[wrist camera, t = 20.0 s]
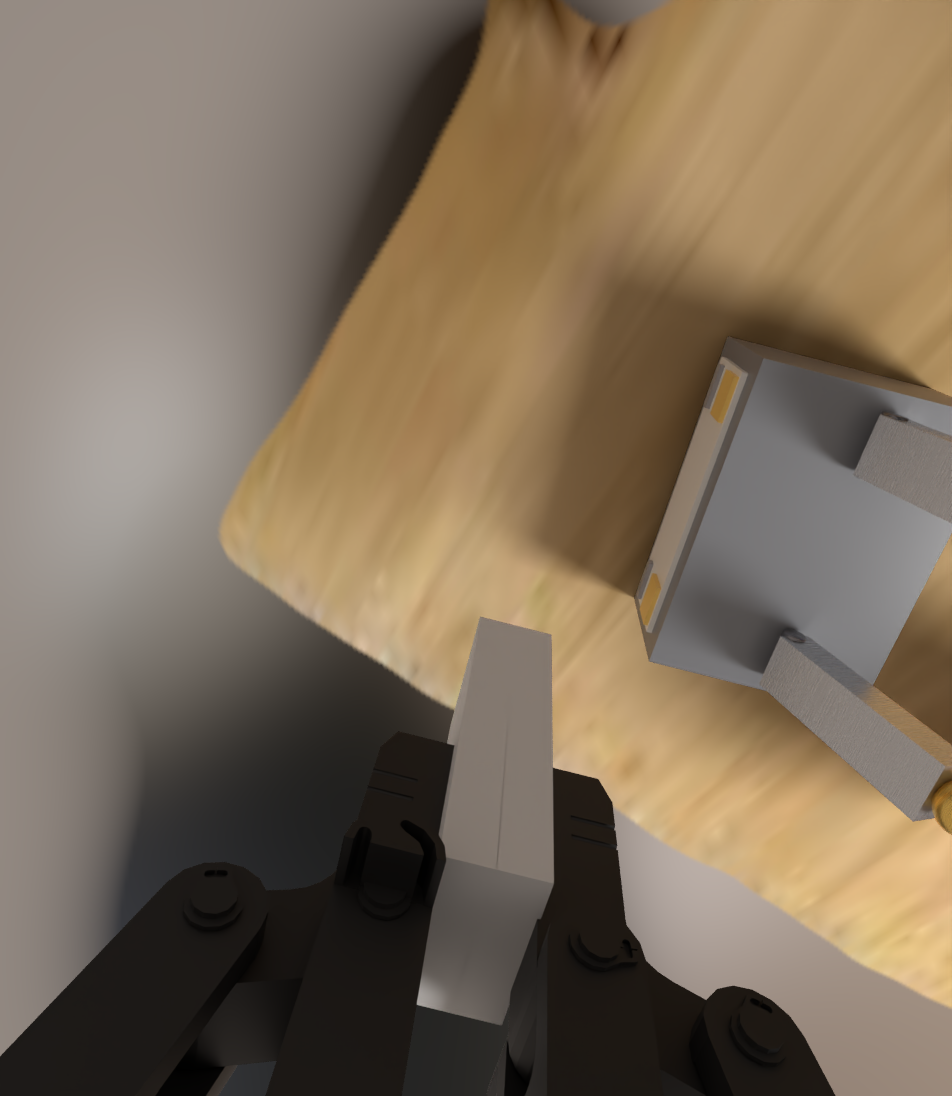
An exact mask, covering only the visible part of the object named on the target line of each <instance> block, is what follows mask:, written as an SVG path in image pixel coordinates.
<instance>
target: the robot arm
mask: <svg viewBox="0 0 952 1096" xmlns="http://www.w3.org/2000/svg"><path fill="white" fill-rule="evenodd" d="M614 828H615V823H614V814H613V805H612V801H611V800H610V798H609V796H608V795H607V793H606V791H605V790H604V788H603V786H602V785H601V783H600V781H599V780H598V779H595V778H591V777H587V776H583V775H579V774H575V773H571V772H567V771H563V770H559V769H555V768H553V741H552V640H551V634H547V633H543V632H539V631H535V630H531V629H527V628H523V627H519V626H515V625H511V624H507V623H503V622H499V621H495V620H491V619H487V618H483V617H480V619H479V623H478V627H477V630H476V634H475V638H474V641H473V645H472V649H471V652H470V656H469V660H468V663H467V667H466V671H465V674H464V678H463V682H462V685H461V689H460V693H459V697H458V700H457V704H456V708H455V711H454V715H453V719H452V722H451V727H450V732H449V737H448V742H447V743H443V742H439V741H435V740H431V739H427V738H423V737H419V736H415V735H411V734H407V733H403V732H399V731H398V732H397V733H396V734H395V735H394V736H392V737H391V738H390V739H389V740H388V741H387V742H386V743H384V744H383V745H382V746H381V747H380V750H379V753H378V757H377V760H376V763H375V766H374V769H373V772H372V775H371V778H370V782H369V785H368V788H367V791H366V794H365V797H364V800H363V803H362V806H361V810H360V813H359V816H358V819H357V820H356V821H355V822H353V823H352V825H351V826H350V828H349V829H348V831H347V832H346V834H345V836H344V839H343V844H342V848H341V853H340V858H339V862H338V866H337V870H336V871H335V872H334V873H333V874H332V875H331V876H329V877H327V878H326V879H324V880H323V881H321V882H319V883H317V884H314V885H311V886H308V887H305V888H298V889H291V890H267V891H266V889H265V887H264V886H263V884H262V882H261V880H260V878H258V877H257V876H255V875H254V874H253V873H251V872H250V871H249V870H247V869H246V868H244V867H241V866H237V865H234V864H230V863H226V862H215V863H202V864H199V865H196V866H193V867H190V868H187V869H184V870H183V871H182V872H180V873H179V874H178V875H176V876H175V877H173V878H172V879H171V880H169V881H168V882H167V883H166V884H165V885H164V886H163V887H162V888H161V889H160V890H159V891H158V892H157V893H156V894H155V895H154V896H153V897H152V898H151V900H149V902H148V903H147V904H146V905H145V906H144V907H143V908H142V909H141V910H140V911H139V912H138V913H137V914H136V915H135V916H134V917H133V918H132V919H131V920H130V921H129V922H128V924H127V925H126V926H125V927H124V928H123V929H122V930H121V931H120V932H119V933H118V934H117V935H116V936H115V937H114V938H113V939H112V940H111V941H110V942H109V943H108V945H106V946H105V948H104V949H103V950H102V951H101V952H100V953H99V954H98V955H97V956H96V957H95V958H94V959H93V960H92V961H91V962H90V963H89V964H88V965H87V966H86V967H85V969H83V971H82V972H81V973H80V974H79V975H78V976H77V977H76V978H75V979H74V980H73V981H72V982H71V983H70V984H69V985H68V986H67V988H65V989H64V990H63V991H62V992H61V993H60V995H59V996H58V997H57V998H56V999H55V1000H54V1001H53V1002H52V1003H51V1004H50V1005H49V1006H48V1007H47V1008H46V1009H45V1010H44V1011H43V1012H42V1013H41V1014H40V1015H39V1016H38V1018H37V1019H36V1020H35V1021H34V1022H33V1023H32V1024H31V1025H30V1026H29V1027H28V1028H27V1029H26V1030H25V1031H24V1032H23V1033H22V1034H21V1035H20V1036H19V1037H18V1038H17V1040H16V1041H15V1042H14V1043H13V1044H12V1045H11V1046H10V1047H9V1048H8V1049H7V1050H6V1051H5V1052H4V1053H3V1054H2V1055H1V1056H0V1096H218V1095H219V1094H220V1092H221V1091H222V1089H223V1087H224V1086H225V1084H226V1083H227V1081H228V1080H229V1078H230V1076H231V1075H232V1073H233V1072H234V1070H235V1069H236V1067H237V1065H240V1064H250V1063H259V1062H269V1061H277V1062H276V1065H275V1068H274V1071H273V1074H272V1077H271V1080H270V1083H269V1087H268V1090H267V1093H266V1096H402V1091H403V1084H404V1078H405V1072H406V1066H407V1060H408V1054H409V1048H410V1042H411V1036H412V1030H413V1023H414V1017H415V1012H416V1006H417V1005H420V1006H424V1007H428V1008H433V1009H437V1010H441V1011H445V1012H449V1013H453V1014H457V1015H461V1016H465V1017H469V1018H473V1019H477V1020H482V1021H486V1022H489V1023H493V1024H498V1025H502V1022H503V1019H504V1017H505V1014H506V1012H507V1009H508V1006H509V1004H510V1011H509V1030H508V1036H507V1039H506V1042H505V1045H504V1047H503V1050H502V1052H501V1055H500V1058H499V1061H498V1063H497V1065H496V1068H495V1071H494V1073H493V1076H492V1079H491V1081H490V1084H489V1087H488V1091H487V1095H486V1096H835V1094H834V1092H833V1090H832V1088H831V1086H830V1085H829V1083H828V1081H827V1079H826V1077H825V1075H824V1073H823V1072H822V1069H821V1068H820V1066H819V1064H818V1062H817V1060H816V1058H815V1056H814V1054H813V1053H812V1051H811V1049H810V1047H809V1045H808V1043H807V1041H806V1039H805V1037H804V1036H803V1035H802V1033H801V1031H800V1030H799V1029H798V1027H797V1026H796V1024H795V1023H794V1022H793V1020H792V1019H791V1017H790V1016H789V1015H788V1014H786V1013H785V1012H784V1011H783V1010H782V1009H781V1008H780V1007H779V1006H777V1005H776V1004H775V1003H774V1002H773V1001H772V1000H770V999H768V998H766V997H765V996H763V995H760V994H759V993H757V992H755V991H753V990H750V989H746V988H741V987H736V986H730V987H725V988H720V989H717V990H716V991H715V992H714V993H713V994H712V995H711V996H710V997H709V998H708V999H707V1000H705V999H703V998H701V997H700V996H698V995H696V994H694V993H692V992H690V991H689V990H687V989H685V988H683V987H681V986H679V985H678V984H676V983H674V982H672V981H671V980H669V979H668V978H666V977H665V976H663V975H662V974H660V973H659V972H657V971H656V970H655V969H654V968H653V967H652V966H651V965H650V964H649V963H648V962H647V961H646V960H645V957H644V954H643V951H642V948H641V945H640V943H639V941H638V940H637V938H636V937H635V936H634V935H633V933H632V932H631V930H630V929H629V928H628V927H627V925H626V920H625V912H624V903H623V894H622V885H621V876H620V867H619V858H618V850H616V848H617V840H616V832H615V831H614ZM496 1093H497V1094H496Z"/></svg>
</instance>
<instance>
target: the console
mask: <svg viewBox="0 0 952 1096" xmlns="http://www.w3.org/2000/svg"><path fill="white" fill-rule="evenodd" d="M882 411H888V412H892V413H895V414H898V415H901V416H904V417H907V418H909V420H911V421H914V422H917V423H919V424H922V425H924V426H927V427H930V428H932V429H935V430H937V431H940V432H943V433H945V434H948V435H950V436H952V397H950V396H948V395H945V394H943V393H941V392H938V391H936V390H933V389H930V388H926V387H922V386H919V385H915V384H911V383H907V382H903V381H899V380H895V379H891V378H888V377H884V376H880V375H876V374H872V373H868V372H864V371H860V370H857V369H853V368H849V367H845V366H841V365H837V364H833V363H829V362H826V361H822V360H818V359H814V358H810V357H806V356H802V355H798V354H795V353H791V352H787V351H783V350H779V349H775V348H771V347H767V346H763V345H760V344H756V343H752V342H748V341H744V340H740V339H736V338H732V337H729V336H728V337H727V339H726V342H725V345H724V348H723V351H722V353H721V356H720V359H719V362H718V365H717V367H716V370H715V373H714V376H713V379H712V381H711V384H710V387H709V390H708V393H707V396H706V398H705V401H704V404H703V407H702V410H701V412H700V415H699V418H698V421H697V424H696V426H695V429H694V432H693V435H692V438H691V440H690V443H689V446H688V449H687V452H686V454H685V457H684V460H683V463H682V466H681V468H680V471H679V474H678V477H677V480H676V482H675V485H674V488H673V491H672V494H671V497H670V499H669V502H668V505H667V508H666V511H665V513H664V516H663V519H662V522H661V525H660V527H659V530H658V533H657V536H656V539H655V541H654V544H653V547H652V550H651V553H650V555H649V558H648V561H647V564H646V567H645V569H644V572H643V575H642V578H641V581H640V584H639V586H638V589H637V592H636V595H635V598H634V599H635V603H636V608H637V612H638V616H639V621H640V625H641V629H642V633H643V638H644V642H645V646H646V651H647V655H648V659H649V662H653V663H657V664H661V665H665V666H669V667H673V668H677V669H681V670H685V671H689V672H693V673H697V674H701V675H705V676H709V677H713V678H717V679H721V680H725V681H729V682H733V683H737V684H741V685H745V686H749V687H753V688H757V689H761V690H764V691H766V690H765V689H764V688H763V687H762V686H761V685H759V683H760V680H761V678H762V676H763V674H764V672H765V669H766V667H767V665H768V663H769V660H770V658H771V656H772V654H773V652H774V649H775V647H776V645H777V643H778V640H779V638H780V636H781V635H782V633H783V630H784V629H793V630H796V631H798V632H800V633H802V634H803V635H804V636H808V637H810V638H811V639H812V640H814V641H815V642H816V643H818V644H819V645H820V646H822V647H823V648H824V649H826V650H827V651H828V652H830V653H831V654H832V655H834V656H835V657H836V658H837V659H839V660H840V661H841V662H843V663H844V664H845V665H847V666H848V667H849V668H851V669H852V670H853V671H855V672H856V673H857V674H859V675H860V676H861V677H863V678H864V679H865V680H867V681H868V682H869V683H870V684H872V685H873V684H874V682H875V680H876V678H877V676H878V675H879V673H880V671H881V669H882V667H883V665H884V663H885V661H886V659H887V657H888V655H889V653H890V651H891V649H892V647H893V646H894V644H895V642H896V640H897V638H898V636H899V634H900V632H901V630H902V628H903V626H904V624H905V622H906V620H907V619H908V617H909V615H910V613H911V611H912V609H913V607H914V605H915V603H916V601H917V599H918V597H919V595H920V593H921V591H922V590H923V588H924V586H925V584H926V582H927V580H928V578H929V576H930V574H931V572H932V570H933V568H934V566H935V564H936V563H937V561H938V559H939V557H940V555H941V553H942V551H943V549H944V547H945V545H946V543H947V541H948V539H949V537H950V535H951V534H952V524H951V523H949V522H947V521H945V520H943V519H941V518H939V517H937V516H935V515H933V514H931V513H929V512H927V511H925V510H923V509H921V508H919V507H917V506H915V505H913V504H911V503H909V502H907V501H905V500H902V499H900V498H898V497H896V496H894V495H892V494H890V493H888V492H886V491H884V490H882V489H880V488H878V487H876V486H874V485H872V484H870V483H868V482H866V481H864V480H862V479H859V478H857V477H855V476H854V475H853V474H854V471H855V469H856V467H857V465H858V462H859V460H860V458H861V456H862V454H863V451H864V449H865V447H866V445H867V442H868V440H869V438H870V436H871V433H872V431H873V429H874V427H875V425H876V422H877V420H878V418H879V416H880V415H881V412H882Z"/></svg>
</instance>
